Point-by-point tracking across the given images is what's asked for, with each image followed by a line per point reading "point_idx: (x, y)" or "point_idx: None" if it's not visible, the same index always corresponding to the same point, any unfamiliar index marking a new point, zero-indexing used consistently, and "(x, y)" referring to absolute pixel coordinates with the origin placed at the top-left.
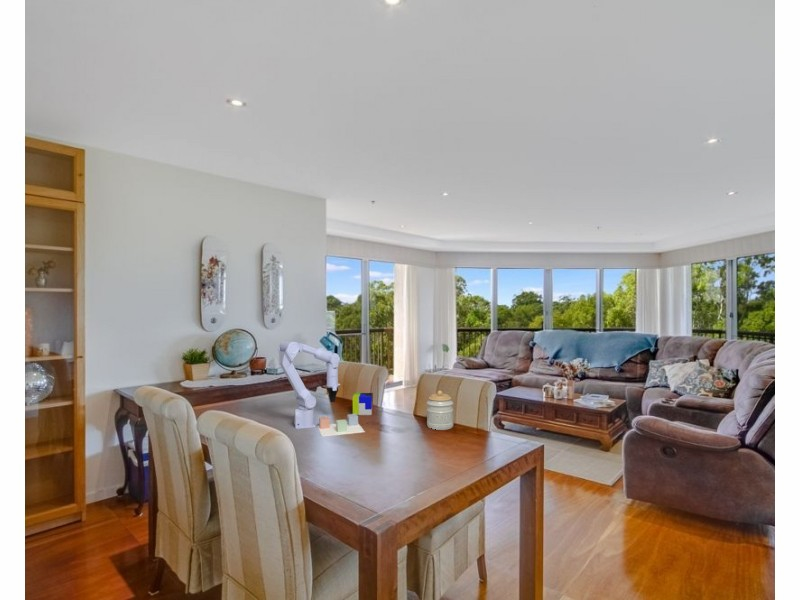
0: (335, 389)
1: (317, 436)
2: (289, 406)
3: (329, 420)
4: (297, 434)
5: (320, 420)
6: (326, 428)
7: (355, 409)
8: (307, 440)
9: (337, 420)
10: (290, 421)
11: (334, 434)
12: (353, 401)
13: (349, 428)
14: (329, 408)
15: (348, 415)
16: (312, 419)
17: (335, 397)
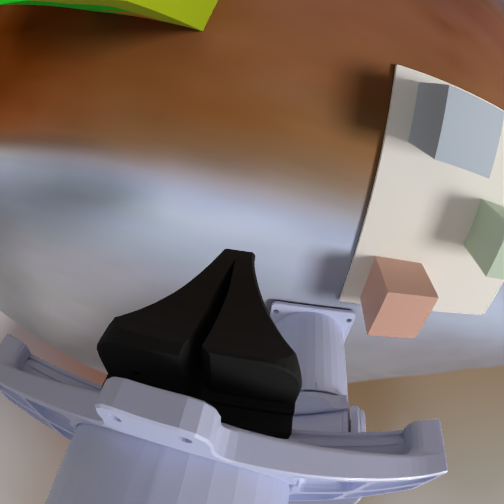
0: (432, 442)
1: (462, 324)
2: (17, 293)
3: (434, 291)
4: (390, 368)
5: (414, 334)
6: None
7: (196, 2)
8: (465, 352)
9: (493, 271)
10: None
11: None
12: (157, 1)
13: (490, 178)
14: (26, 158)
15: (460, 163)
16: (339, 346)
17: (257, 283)
